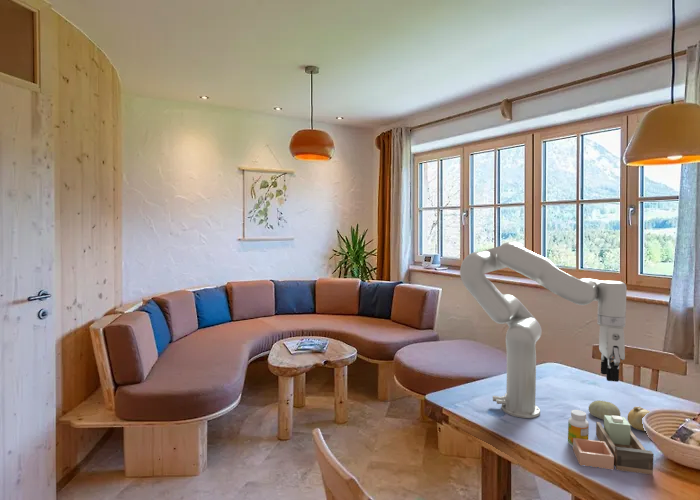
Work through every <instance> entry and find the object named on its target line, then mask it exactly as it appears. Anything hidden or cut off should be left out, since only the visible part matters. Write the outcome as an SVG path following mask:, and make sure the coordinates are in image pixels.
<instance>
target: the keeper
mask: <svg viewBox="0 0 700 500" xmlns="http://www.w3.org/2000/svg"><path fill="white" fill-rule="evenodd" d="M631 427H632V426H631V425H630V424H629V422H628V419H626V418H625V416H621V415H620V416H614V415H611V416H608V415H604V420H603V428H604V430H605V431H606V433H607V434H608V436H609V437H610V439H611V441H612V442H613V443H614V444H622V445H630V431H632V430H631Z"/></svg>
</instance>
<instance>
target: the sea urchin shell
mask: <svg viewBox="0 0 700 500" xmlns="http://www.w3.org/2000/svg"><path fill="white" fill-rule="evenodd" d="M620 411H621V410H620V409H619V408H618V406H616V404H614V403H612V402H609V401H605V400H594V401H592V402H591V403H590V404H589V405H588V412H589V414H590V415H591V416H593V417H595V418H598V419H600V420H602V421H604V415H608V416H611V415H614V416H621V412H620Z"/></svg>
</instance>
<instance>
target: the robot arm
mask: <svg viewBox="0 0 700 500" xmlns="http://www.w3.org/2000/svg"><path fill="white" fill-rule="evenodd" d="M506 268H507V269H508V268H509V269H510V270H511V271H514V272H516V273H519V274H520V275H522V276H525V277H526V278H528V279H531V280H532V281H534V282H536V283H537V284H539V285H540V286H542V287H543V288H545V289H546V290H548V291H550V292H551V293H553V294H554V295H556V296H559V297H561V298H563V299H564V300H567V301H569V302H570V303H573V304H575V305H578V306H586V305H589V304H591V303H592V302H594V301H595V302H597V316H596V317H597V318H596V319H597V323H596V324H597V325H598V326H599V331H598V332H599V334H598V349H599V352H600V353H601V355H600V356H601V357H600V360H601V361H600V374H602V375H606V381H608V382H619V381H620V380H619V377H620V363H621V361H624V360H626V355H625V354H626V351H625V350H626V346H625V345H626V344H625V343H626V342H625V340H626V339H625V332H624V331H625V328H626V318H627V317H626V315H627V314H626V313H627V290H628V288H627V285H626V282H625V283H624V282H623V281H619V280H599V279H594V278H590V277H589V278H586V277H583V278H577V277H575V276H573V275H571V274H569V273H566V272H565V271H563V270H561V269H560V268H558V267H557V266H556V265H555V264H554V263H553V261H551V260H550V259H548V258H547V257H544V256H542V255H540V254H537V253H536V252H533V251H532V250H530V249H527V247H525V245H524V244H523V243H520V242H518V241H510V242H509V241H508V242H507V241H506V242H504V243H502V244H501V245H499V246H494V247H492V248H488V249H485V250H481V251H475V252H474V251H473V252H471V253H469V254H467V256H465V257H464V259H463V260H462V262H461V265H460V268H459V269H460V271H459V275H460V280H461V282H462V284H463V286H464V288H465V289H466V291H468V293H470V295H471V296H472V297H473V298H474V299H475V300H476V302H477V303H478V304H479V306H480V307H481V308H482V309H483V311H484V312H485V313H486V314H487V316H488V317H489V318H490V319H491V320H492V321H493V322H494V323H496V324H499V325H500V324H501V325H504V324H507V326H508V328H507V330H506V333H505V348H506V393H504V395H501V396H499V395H492V402H496V404H497V405H501V410H502V411H503V412H504V413H506V414H508V415H509V416H512V417H516V418H521V419H532V418H537V417H539V416H540V415H541V408H539V406H537V405H536V395H537V394H536V391H537V389H536V387H537V384H536V383H537V353H536V344H537V342H538V341H539V340H540V338H541V337H542V332H543V331H542V330H543V329H542V326H541V324H540V322H539V321H538V320H537V318H536V317H535V316H534V315H533V314H532V313H531V312H530V311H529V310H528V308H527V307H526V306H525V305H524V304H523V303H522V302H521V301H520V299H518V297H515V296H514V295H512V294H509V293H502V292H501V291H500V290H499V289H498V288H497V286H496V285H495V284H494V283H493V282H492V281H491V280H490V279H488V278H487V276H486V275H485V274H488V273H491V272H494V271H499V270H502V269H506Z"/></svg>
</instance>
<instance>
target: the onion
mask: <svg viewBox="0 0 700 500" xmlns="http://www.w3.org/2000/svg"><path fill="white" fill-rule="evenodd" d="M649 412H651V411H650V410H649V409H645V408H644V407H641V406H634V407H633V408H632V409H631V410H630V411H628V413H627V416H626V417H627V421H628V422H629V424H630V425H631V427H632V428H634V430H638V431H643V432H645V431H644V428H643V424H642V418H643V417H644V416H645V415H646V414H647V413H649Z"/></svg>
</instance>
